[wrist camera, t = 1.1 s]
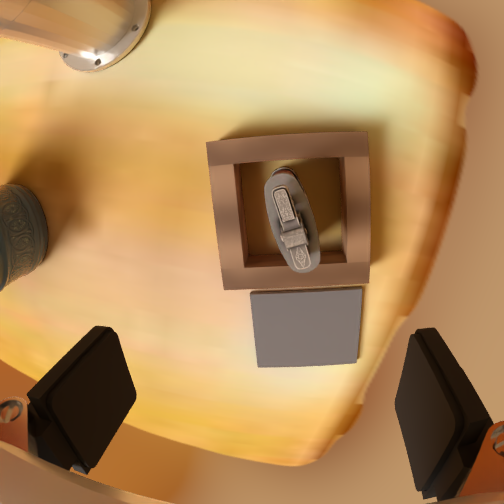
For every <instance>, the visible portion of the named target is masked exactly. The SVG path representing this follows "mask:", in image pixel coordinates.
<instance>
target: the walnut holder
mask: <svg viewBox="0 0 504 504" xmlns="http://www.w3.org/2000/svg"><path fill="white" fill-rule="evenodd" d="M206 147H207V156H208V165H209V174H210V183H211V192H212V201H213V209H214V217H215V225H216V233H217V241H218V249H219V257H220V264H221V272H222V279H223V286H224V290H239V289H268V288H292V287H312V286H331V285H348V284H364V283H369V273H370V241H371V199H370V167H369V148H368V134H367V132H318V133H298V134H282V135H269V136H257V137H246V138H237V139H228V140H219V141H211V142H206ZM329 157H339V173H340V194H341V228H342V251H327V252H320V262H319V264H318V266H317V267H316V268H315V269H314V270H312V271H310V272H306V273H299V272H295V271H293V270H292V269H291V268H290V267H289V265H288V264H287V262H286V260H285V258H284V257H283V255H282V254H269V255H249V253H248V243H247V233H246V223H245V213H244V203H243V193H242V183H241V173H240V163H249V162H261V161H274V160H288V159H306V158H329Z"/></svg>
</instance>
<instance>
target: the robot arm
mask: <svg viewBox="0 0 504 504" xmlns="http://www.w3.org/2000/svg"><path fill="white" fill-rule="evenodd" d="M150 13H151V2H150V0H0V37H2V38H7V39H11V40H16V41H21V42H25V43H29V44H33V45H37V46H41V47H45V48H49V49H53V50H56V51H59V54H60V56H61V58H62V60H63V62H64V63H65V64H66V65H67V66H69V67H70V68H72V69H74V70H78V71H82V72H96V71H99V70H102V69H105V68H107V67H109V66H111V65H113V64H115V63H116V62H118V61H119V60H121V59H122V58H123V57H124V56H125V55H127V54H128V53H129V52H130V51H131V50H132V48H133V47H134V46H135V45H136V44H137V43H138V41H139V40H140V38H141V36H142V35H143V33H144V31H145V29H146V27H147V25H148V21H149V18H150ZM27 396H28V398H29V399H30V403H29V405H28V404H27V403H26V401H25V400H24V399H22V398H20V397H9V398H6V399H4V400H2V401H0V504H173V503H169V502H164V501H160V500H156V499H152V498H148V497H144V496H141V495H137V494H134V493H130V492H127V491H123V490H120V489H117V488H114V487H110V486H108V485H104V484H102V483H99V482H96V481H93V480H91V479H88V478H85V477H83V476H80V475H77V474H75V473H73V472H70V468H71V467H73V468H74V470H76V471H79V472H81V473H84V474H86V475H87V474H88V473H89V471H90V469H91V468H94V467H95V466H96V465H97V463H98V462H99V460H100V458H101V457H102V455H103V453H104V452H105V450H106V448H107V446H108V445H109V443H110V442H111V440H112V438H113V437H114V435H115V433H116V432H117V430H118V428H119V427H120V425H121V424H122V422H123V420H124V419H125V417H126V415H127V414H128V412H129V410H130V409H131V407H132V406H133V404H134V402H135V400H136V390H135V387H134V384H133V381H132V378H131V375H130V373H129V370H128V367H127V363H126V360H125V357H124V354H123V351H122V348H121V344H120V341H119V338H118V335H117V333H116V332H114V330H113V329H112V328H111V327H104V326H95V327H93V328H92V329H91V330H90V331H89V332H88V333H87V334H86V335H85V336H84V337H83V338H82V339H81V340H80V341H79V342H78V343H77V344H76V345H75V346H74V347H73V348H72V349H71V350H70V351H69V352H68V353H67V354H65V355H64V356H63V357H62V358H61V359H60V360H59V361H58V362H57V363H56V364H55V365H54V366H53V367H52V368H51V369H50V370H49V372H48V373H47V374H46V375H45V376H44V377H43V378H42V379H41V380H40V381H39V382H38V383H37V384H36V385H35V386H34V387H33V388H32V389H31V390H30V391H29V392H28V393H27ZM395 410H396V413H397V417H398V420H399V424H400V427H401V431H402V435H403V438H404V442H405V446H406V450H407V454H408V458H409V462H410V466H411V470H412V474H413V478H414V483H415V487H416V489H417V491H422V495H423V499H428V498H432V497H437V501H438V502H433V503H427V504H504V421H500V422H498V423H495V424H494V423H493V421H492V419H491V418H490V416H489V414H488V412H487V410H486V408H485V407H484V405H483V403H482V401H481V400H480V398H479V396H478V394H477V392H476V391H475V389H474V387H473V386H472V384H471V382H470V381H469V379H468V377H467V376H466V374H465V372H464V371H463V369H462V368H461V367H460V366H459V364H458V362H457V361H456V359H455V357H454V356H453V355H452V353H451V351H450V350H449V348H448V346H447V345H446V343H445V342H444V340H443V339H442V337H441V336H440V334H439V333H438V331H437V330H436V329H435V328H424V329H417V330H416V332H415V334H411V336H410V338H409V343H408V348H407V353H406V357H405V362H404V366H403V371H402V375H401V379H400V383H399V387H398V391H397V395H396V398H395Z"/></svg>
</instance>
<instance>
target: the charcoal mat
mask: <svg viewBox="0 0 504 504" xmlns="http://www.w3.org/2000/svg"><path fill="white" fill-rule="evenodd" d="M250 299H251V309H252V318H253V327H254V337H255V346H256V355H257V364H258V367H302V366H323V365H338V364H352V363H356V362H357V353H358V343H359V331H360V318H361V303H362V287H350V288H333V289H315V290H294V291H271V292H251V293H250Z"/></svg>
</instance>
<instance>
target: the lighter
mask: <svg viewBox="0 0 504 504" xmlns="http://www.w3.org/2000/svg"><path fill="white" fill-rule="evenodd" d="M264 195H265V202H266V209H267V214H268V218H269V222H270V225H271V229H272V232H273V235H274V237H275V240H276V242H277V244H278V247H279V249H280V251H281V253H282V255H283V257H284V258H285V260H286V262H287V264H288V265H289V267H290V268H291V269H292V270H293V271H295V272H299V273H306V272H310V271H312V270H314V269H315V268H316V267H317V266H318V264H319V262H320V245H319V237H318V232H317V227H316V223H315V218H314V215H313V213H312V210H311V207H310V203H309V200H308V198H307V195H306V193H305V190H304V188H303V186H302V184H301V182H300V180H299V178H298V176H297V175H296V173H295V172H294V171H293V170H292V169H290V168H287V167H281V168H278V169H276V170H275V171H274V172H273V173H272V174H271V176H270V178H269V179H268V180H267V182H266V184H265V186H264Z"/></svg>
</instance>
